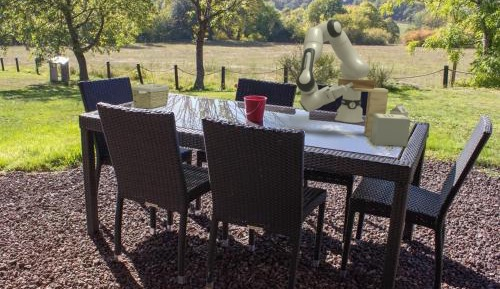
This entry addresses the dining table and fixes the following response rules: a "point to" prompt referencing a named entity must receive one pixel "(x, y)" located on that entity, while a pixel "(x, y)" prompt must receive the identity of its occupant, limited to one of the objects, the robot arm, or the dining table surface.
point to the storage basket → (150, 95)
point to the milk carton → (399, 110)
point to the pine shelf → (374, 106)
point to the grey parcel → (390, 131)
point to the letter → (391, 116)
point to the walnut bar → (357, 83)
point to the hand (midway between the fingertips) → (351, 82)
